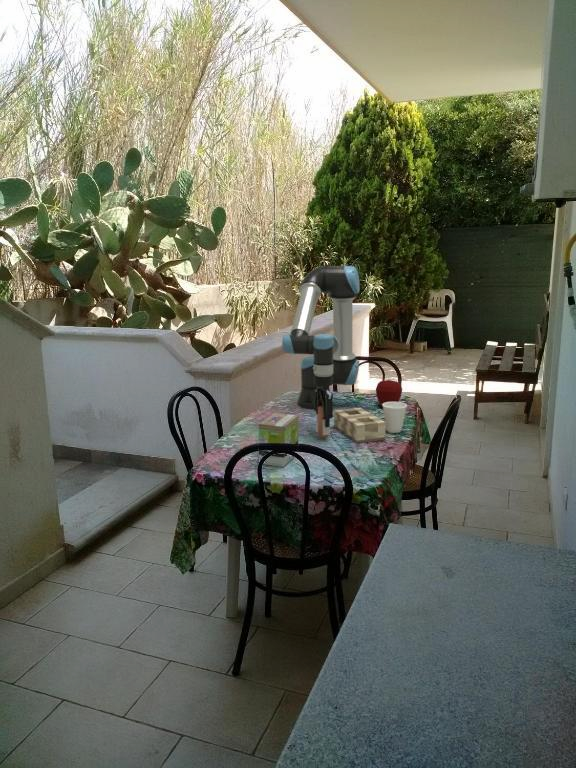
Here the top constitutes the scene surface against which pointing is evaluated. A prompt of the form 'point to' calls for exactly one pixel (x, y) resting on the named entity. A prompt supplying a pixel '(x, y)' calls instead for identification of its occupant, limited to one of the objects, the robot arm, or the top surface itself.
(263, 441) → the tea box
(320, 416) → the peg
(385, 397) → the apple
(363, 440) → the hole block
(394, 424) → the cup
